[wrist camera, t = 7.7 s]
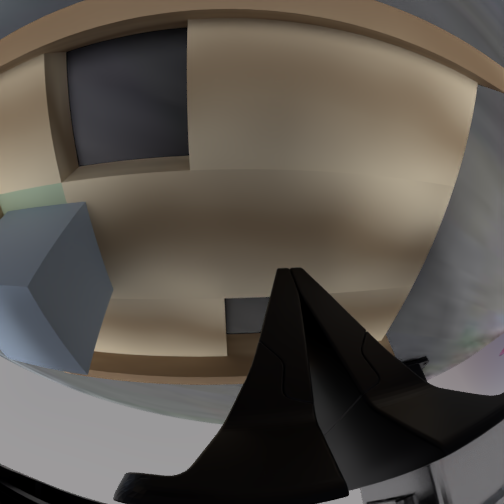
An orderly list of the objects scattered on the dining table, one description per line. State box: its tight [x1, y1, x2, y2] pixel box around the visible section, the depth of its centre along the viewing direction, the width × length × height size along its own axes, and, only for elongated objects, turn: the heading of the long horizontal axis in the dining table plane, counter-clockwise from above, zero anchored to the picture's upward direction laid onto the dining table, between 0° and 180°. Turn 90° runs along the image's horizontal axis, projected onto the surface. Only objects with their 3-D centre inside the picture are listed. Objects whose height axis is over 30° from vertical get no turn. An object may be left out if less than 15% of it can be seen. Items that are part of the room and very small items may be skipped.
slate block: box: [0, 202, 113, 375], centre depth 8 cm, size 4×4×4 cm
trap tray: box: [0, 0, 504, 385], centre depth 11 cm, size 18×22×3 cm
